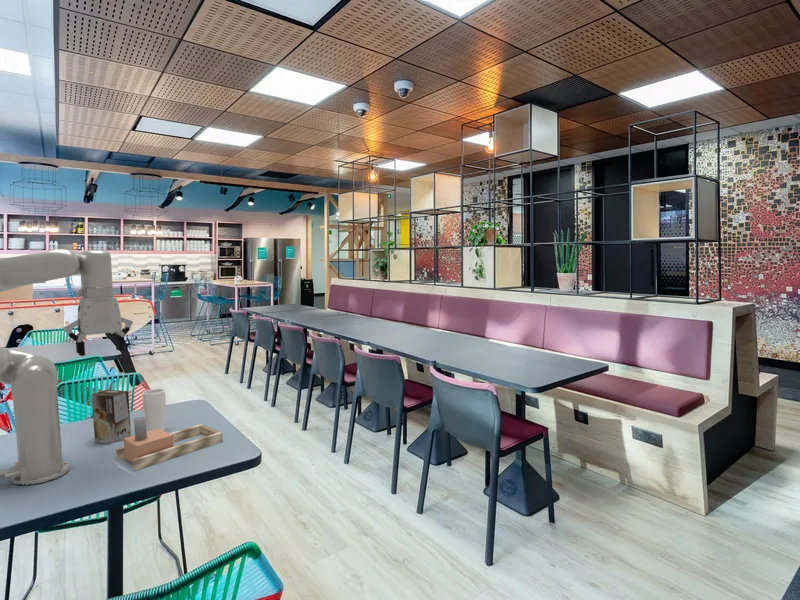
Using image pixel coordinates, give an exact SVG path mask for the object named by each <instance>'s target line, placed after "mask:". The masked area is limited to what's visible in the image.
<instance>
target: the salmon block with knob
mask: <svg viewBox="0 0 800 600" xmlns="http://www.w3.org/2000/svg"><path fill="white" fill-rule="evenodd" d="M133 425H134V435H131V436H130V437H127V438H124V440H123V447H124V452H125V458H124V459H125V460H126V461H129V462H130V463H132V464H133V459H136V458H139V457H142V456H145V455H149V454H152V453H155V452H158V451H161V450H164V449H168V448H171V447H174V442H173V435H171V434H169V433H170V432H167V431H166V430H165V431H163V430H161V429H155V430H152V431H148V432H147V427H146V417H145V416H140V417H135V418H134V419H133Z"/></svg>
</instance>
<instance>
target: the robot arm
mask: <svg viewBox="0 0 800 600" xmlns="http://www.w3.org/2000/svg"><path fill="white" fill-rule="evenodd" d="M111 255H112V254H111V253H110V252H109V251H107V250H100V249H99V250H89V249H88V250H82V251H76V250H69V249H65V248H58V249H57V248H56V249H52V250H46V251H40V252H34V253H31V254H30V253H28V254H23V255H17V256H11V257H0V293H1V292H5V291H10V290H14V289H16V288H17V289H18V288H20V287H24V286H28V285H33V284H39V283H44V282H48V281H53V280H59V279H63V278H68V277H71V276H79V275H80V283H81V284H80V286H81V288H80V289H79V290H75V295H76V296H80V299H79V300H78V301H79V302H78V307H77V318H76V320H74V321H73V322H70V323H68V324H66V325H65V326H63V328H62V329H63V331H64V332H65V334H66V335H67V336H68V337H69V338H70V339H71V340H73V341H74V342H75V349H76V350H75V351H76V354H78V356H80V357H85V356H86V348H85V347H86V346H85V345H86V344H85V342H84V341H83V340H85V338H86V336H89V335H101V334H109V333H110V334H111V333H114V334H116V336H115V349H116V350H117V351H119V352H121V351H122V352H123V350H124V347H125V337H126V334H128V333H129V332H130V330H131V328H132V325H133V320H131V319H127V318H124V317H122V315H121V311H120V306H119V302H118V298H117V297H114V287H113V272H112V256H111ZM123 323H124V324H125V325H124V327H123V328H122V326H123V325H122V324H123ZM74 328H77V331H78V333H77V334H75V333H74V332H73V329H74ZM57 376H58V373H57V367H56V365H55V363H54V362H53V361H52V360H51V359H49V358H47V357H44V356H41V355H37V354H33V353H30V352H29V353H28V352H24V351H21V350H16V349H12V348H9V347H5V346H0V383H1V384H5V385H10V390H11V391H10V392H11V398H12V399H11V400H12V405H13V417H14V424H15V438H16V446H17V447H16V448H17V449H16V450H17V458H18V460H17V461H16V462H15V463H14V465H13V466H11V467H10V468H7V469H3V470H0V479H4V480H8V479H12V480H13V481H12V480H11V481H12V483H13V482H15V483H16V484H15V483H14V484H15V485H18V484H22V485H21V486H28V485H29V484H31V485H37V483H38V484H42V483H46V482H49V480H50V481H52V479H53V480H55V479H58V478H59V477H61V476H62V477H63V476H64V475H65V474H66V473H68V472H69V471H70V470H71V465H70V462H68V461H64V460H63V459H64V458H63V447H62V435H61V434H62V433H61V420H60V419H61V418H60V411H59V409H60V408H59V397H58V379H57V378H58V377H57ZM24 484H25V485H24ZM29 486H30V485H29Z"/></svg>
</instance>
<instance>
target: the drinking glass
mask: <svg viewBox="0 0 800 600" xmlns="http://www.w3.org/2000/svg"><path fill="white" fill-rule="evenodd" d="M166 402H167V401H166V391H165V389H164V388H151V389H150V388H149V389H146V390H143V392H142V407H143V413H144V417H146V429H147V432H148V431H152V430H155V429H161V430H163V431H165V432H166V427H165V425H166V424H165V423H166V422H165V421H166Z"/></svg>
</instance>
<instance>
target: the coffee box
mask: <svg viewBox="0 0 800 600" xmlns="http://www.w3.org/2000/svg"><path fill="white" fill-rule="evenodd" d="M91 407H92V420H93V422H92V423H93V432H94V435H93V436H94V443H96V444H105V445H106V444H107V445H112V444H115V443H119V442H122V441H123V442H124V438H127V437H130V436H132V425H131V415H130V414H131V412H130V411H131V410H130V397H129V390H118V389H117V390H115V389H104V390H101V391H99V392H98V391H97V392H96V393H92V394H91Z"/></svg>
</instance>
